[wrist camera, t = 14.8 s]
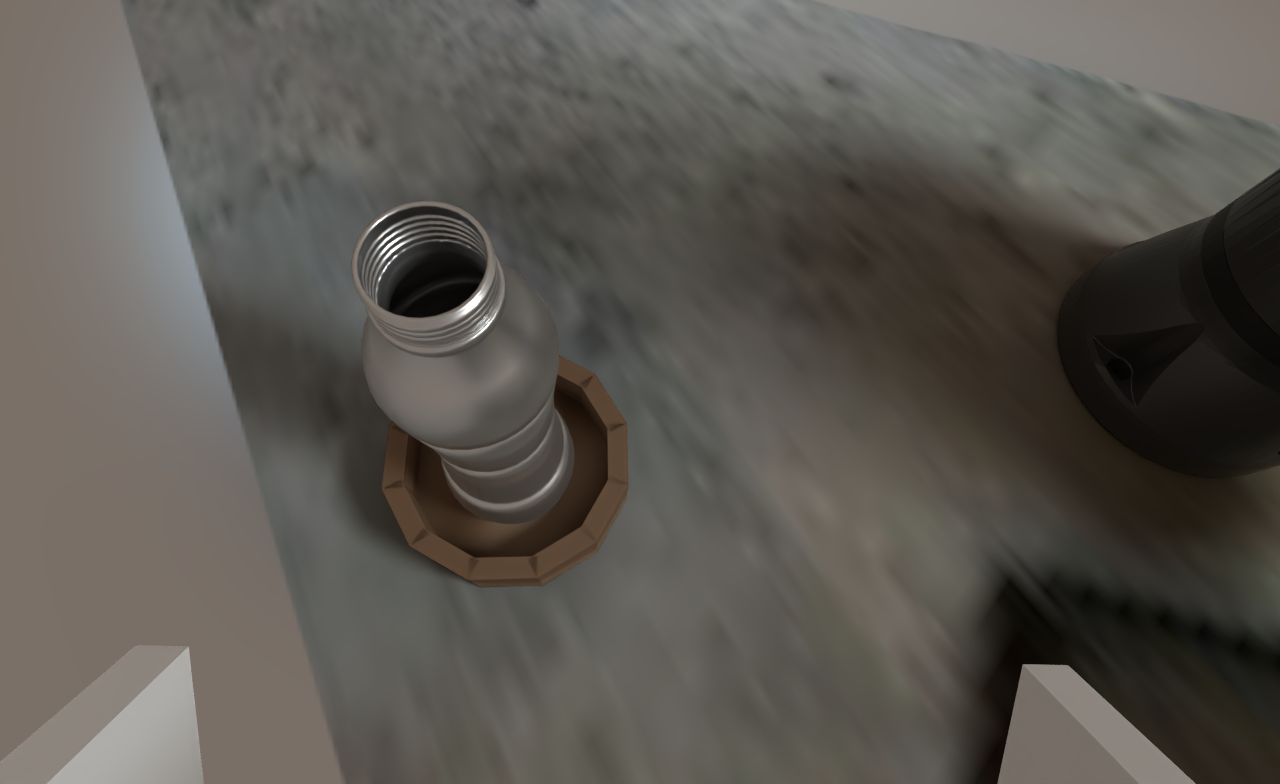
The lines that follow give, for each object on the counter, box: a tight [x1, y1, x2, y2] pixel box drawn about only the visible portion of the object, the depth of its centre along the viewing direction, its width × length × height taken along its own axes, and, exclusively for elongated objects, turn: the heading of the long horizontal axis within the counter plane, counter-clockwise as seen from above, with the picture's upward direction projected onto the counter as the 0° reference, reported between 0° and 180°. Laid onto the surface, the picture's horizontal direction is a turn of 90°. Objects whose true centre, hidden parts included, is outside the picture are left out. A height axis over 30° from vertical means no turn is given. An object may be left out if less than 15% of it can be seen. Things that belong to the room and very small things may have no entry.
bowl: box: [382, 355, 628, 587], centre depth 34 cm, size 12×12×4 cm
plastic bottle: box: [351, 201, 574, 524], centre depth 26 cm, size 6×7×20 cm
